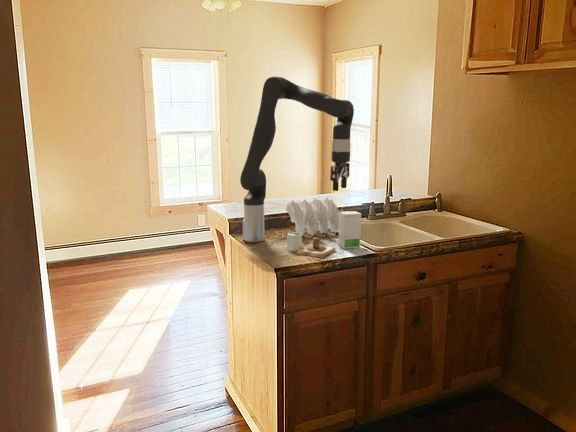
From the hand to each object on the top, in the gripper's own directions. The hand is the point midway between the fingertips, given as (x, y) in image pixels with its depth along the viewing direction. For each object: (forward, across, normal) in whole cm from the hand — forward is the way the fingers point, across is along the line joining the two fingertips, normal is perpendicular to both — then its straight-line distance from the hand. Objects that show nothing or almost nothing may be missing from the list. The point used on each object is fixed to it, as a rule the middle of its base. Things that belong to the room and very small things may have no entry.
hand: (339, 189), depth 209 cm
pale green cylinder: (+28, +5, -18) cm, 33 cm away
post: (+28, +4, -8) cm, 29 cm away
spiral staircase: (+28, -24, -22) cm, 43 cm away
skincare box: (+28, -11, +1) cm, 30 cm away
